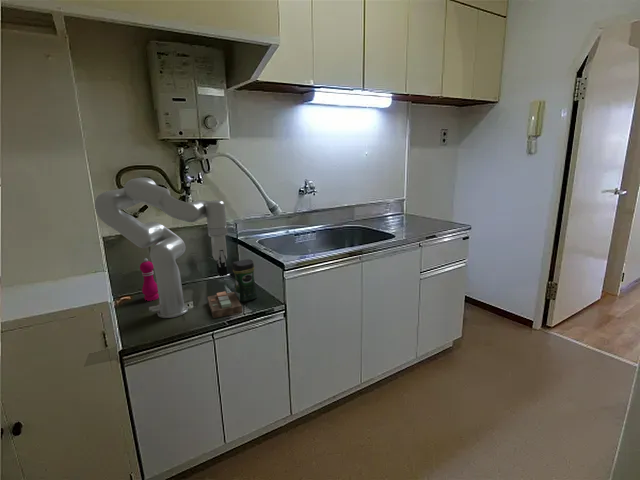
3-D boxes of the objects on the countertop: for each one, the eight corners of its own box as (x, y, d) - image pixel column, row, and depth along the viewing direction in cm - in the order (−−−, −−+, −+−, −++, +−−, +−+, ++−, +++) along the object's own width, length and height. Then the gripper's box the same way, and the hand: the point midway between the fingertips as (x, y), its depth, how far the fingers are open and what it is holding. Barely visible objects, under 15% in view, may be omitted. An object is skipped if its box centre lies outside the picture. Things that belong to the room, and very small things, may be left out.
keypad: (213, 318, 154) (212, 311, 153) (208, 302, 170) (207, 296, 169) (242, 312, 158) (241, 305, 157) (234, 297, 174) (233, 291, 174)
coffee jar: (252, 293, 179) (249, 256, 174) (259, 298, 172) (256, 260, 168) (233, 298, 174) (229, 260, 169) (239, 303, 167) (235, 264, 163)
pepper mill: (148, 302, 173) (141, 261, 168) (140, 299, 177) (133, 259, 172) (163, 297, 178) (156, 257, 174) (155, 294, 183) (148, 255, 178)
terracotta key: (218, 302, 166) (217, 295, 165) (217, 298, 170) (216, 293, 169) (227, 300, 168) (226, 294, 167) (226, 297, 171) (225, 291, 171)
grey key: (220, 306, 161) (219, 300, 161) (218, 303, 165) (218, 297, 164) (229, 304, 163) (228, 298, 162) (228, 301, 166) (227, 295, 166)
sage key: (222, 311, 156) (221, 304, 156) (220, 307, 160) (220, 301, 159) (231, 309, 158) (231, 303, 157) (230, 306, 161) (229, 299, 161)
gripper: (205, 228, 157) (210, 269, 161) (210, 236, 142) (216, 281, 146) (224, 226, 160) (228, 267, 164) (230, 234, 145) (235, 278, 149)
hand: (222, 273), depth 155 cm, fingers open, 4 cm apart
